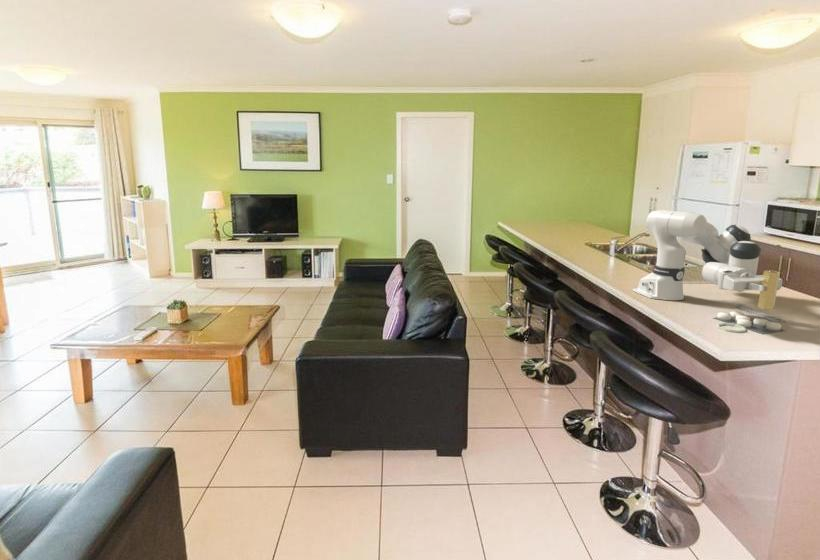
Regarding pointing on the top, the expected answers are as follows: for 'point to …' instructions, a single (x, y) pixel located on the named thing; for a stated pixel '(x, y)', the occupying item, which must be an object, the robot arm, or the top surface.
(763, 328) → the mat
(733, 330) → the dish
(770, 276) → the coupling nut
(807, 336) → the top surface
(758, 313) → the adjustable wrench
